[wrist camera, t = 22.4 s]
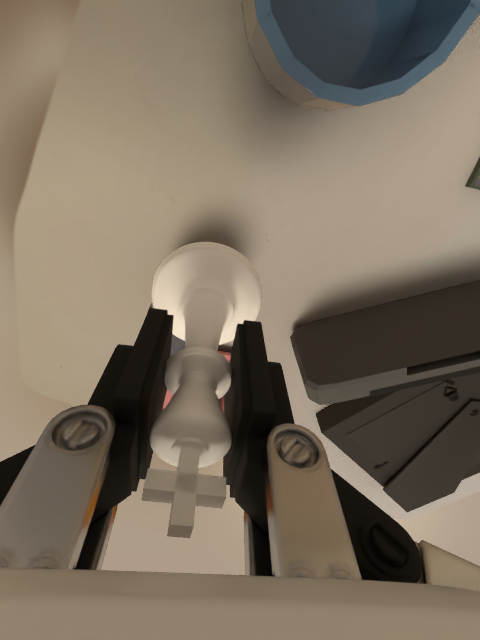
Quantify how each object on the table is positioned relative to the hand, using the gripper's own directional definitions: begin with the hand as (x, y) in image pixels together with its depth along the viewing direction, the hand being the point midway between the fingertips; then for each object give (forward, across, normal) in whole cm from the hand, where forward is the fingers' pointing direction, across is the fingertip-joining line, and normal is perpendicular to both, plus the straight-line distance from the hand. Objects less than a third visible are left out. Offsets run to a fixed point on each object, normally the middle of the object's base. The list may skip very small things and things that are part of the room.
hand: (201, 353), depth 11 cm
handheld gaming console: (+22, -20, +8) cm, 31 cm away
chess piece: (+5, 0, 0) cm, 5 cm away
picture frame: (+22, -34, +20) cm, 46 cm away
